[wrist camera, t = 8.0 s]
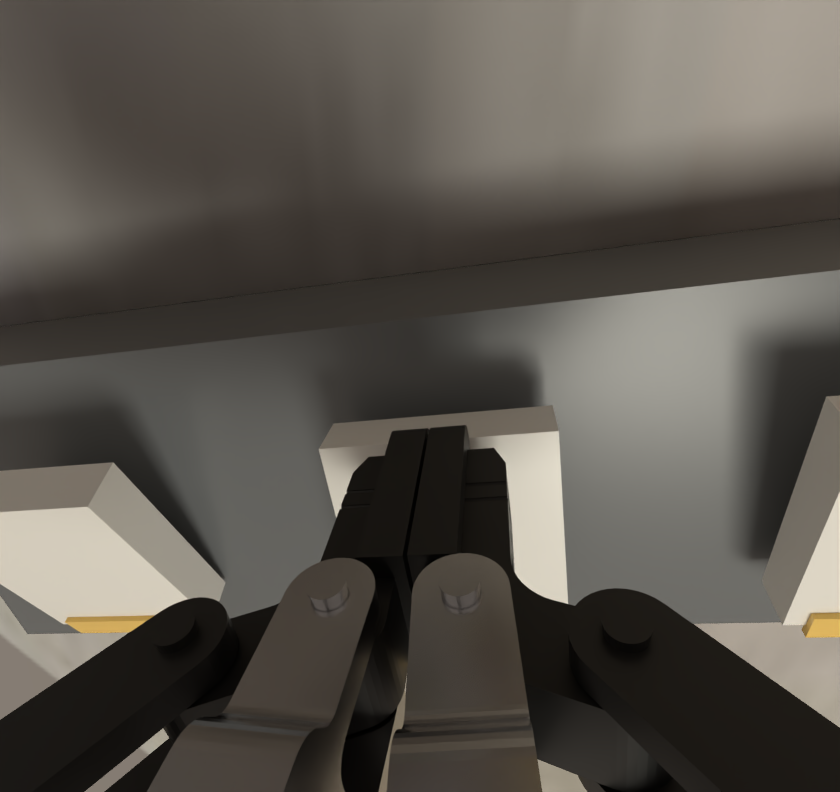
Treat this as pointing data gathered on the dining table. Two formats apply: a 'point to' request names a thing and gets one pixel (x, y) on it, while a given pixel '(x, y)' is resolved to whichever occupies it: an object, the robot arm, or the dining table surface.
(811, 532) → the switch
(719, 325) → the switch box
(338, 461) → the switch
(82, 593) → the switch
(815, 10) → the dining table surface
